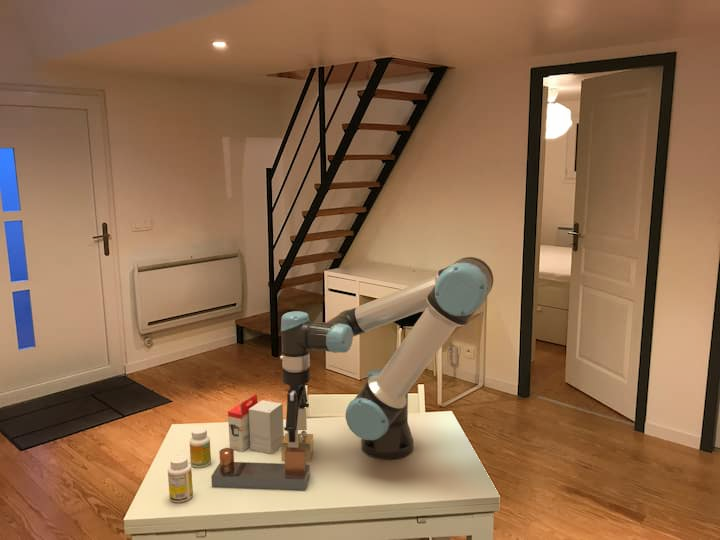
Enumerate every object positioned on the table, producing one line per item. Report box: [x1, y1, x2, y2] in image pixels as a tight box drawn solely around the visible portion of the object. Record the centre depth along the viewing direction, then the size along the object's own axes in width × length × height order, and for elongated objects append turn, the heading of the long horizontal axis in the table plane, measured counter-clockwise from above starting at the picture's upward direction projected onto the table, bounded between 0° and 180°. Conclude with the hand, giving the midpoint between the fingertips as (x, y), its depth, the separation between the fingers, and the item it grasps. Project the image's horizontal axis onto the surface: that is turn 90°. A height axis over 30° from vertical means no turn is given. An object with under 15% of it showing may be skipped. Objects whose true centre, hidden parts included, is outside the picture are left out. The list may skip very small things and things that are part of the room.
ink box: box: [227, 393, 259, 452], centre depth 172 cm, size 8×5×15 cm, turn 155°
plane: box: [210, 447, 311, 492], centre depth 152 cm, size 24×8×9 cm, turn 86°
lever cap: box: [280, 430, 314, 463], centre depth 165 cm, size 8×6×7 cm
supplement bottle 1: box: [167, 454, 194, 503], centre depth 144 cm, size 6×6×10 cm
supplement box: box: [248, 399, 285, 455], centre depth 171 cm, size 7×7×13 cm
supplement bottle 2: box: [189, 426, 212, 469], centre depth 161 cm, size 5×5×10 cm
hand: (297, 440), depth 165 cm, fingers open, 13 cm apart
